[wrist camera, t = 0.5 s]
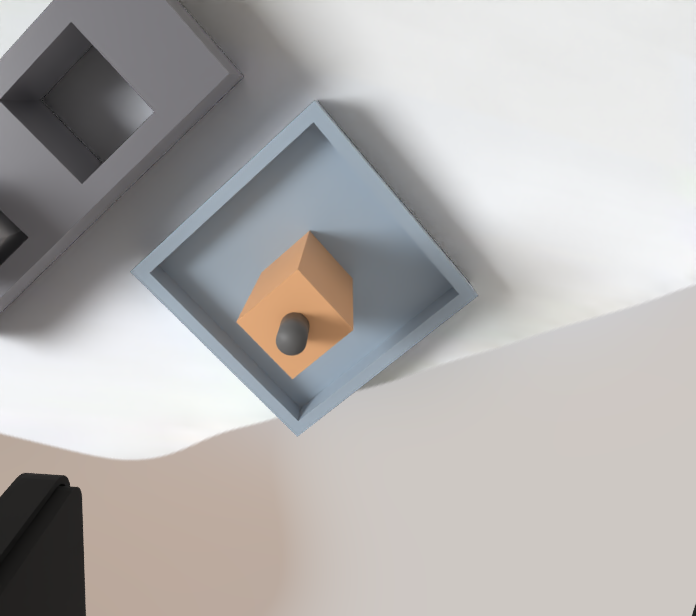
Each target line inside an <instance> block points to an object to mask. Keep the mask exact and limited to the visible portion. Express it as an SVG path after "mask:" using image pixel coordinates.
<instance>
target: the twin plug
mask: <svg viewBox="0 0 696 616" xmlns="http://www.w3.org/2000/svg"><path fill="white" fill-rule="evenodd" d="M28 238H29V237H28V236H27V235H26V234H25V233H23V232H22V231H21V230H20V229H19V228H18V227H17V226H16V225H15V224H14V223H13V222H12V221H11V220H10V219H9V218H8V217H7V216H6V215H5V214H4V213H3V212H1V211H0V264H2V263H4V262H5V261H6V260H7V259H8V258H9V257H10V256H11V255H12V254H13V253H14V252H15V251H16V250H17V249H18V248H19V247H20V246H21V245H22V244H23V243H24V242H25V241H26V240H27V239H28Z"/></svg>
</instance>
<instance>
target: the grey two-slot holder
mask: <svg viewBox="0 0 696 616" xmlns="http://www.w3.org/2000/svg"><path fill="white" fill-rule="evenodd" d="M92 45H93V46H94V47H95V48H96V49H97V50H98V51H99V52H100V53H101V54H102V56H103V57H104V58H105V59H106V60H107V61H108V62H109V63H110V64H111V65H112V66H113V67H114V69H115V70H116V71H117V72H118V73H119V74H120V75H121V76H122V77H123V78H124V79H125V80H126V82H127V83H128V84H129V85H130V86H131V87H132V88H133V89H134V90H135V91H136V92H137V93H138V95H139V96H140V97H141V98H142V99H143V100H144V101H145V102H146V103H147V104H148V105H149V107H150V108H151V109H152V110H153V111H154V113H153V114H152V115H151V116H150V117H149V118H148V119H147V120H146V121H145V122H144V123H143V124H142V125H141V126H140V127H139V128H138V129H137V130H136V131H135V132H134V133H133V134H132V135H131V136H130V137H129V138H128V139H127V140H126V141H125V142H124V143H123V144H122V145H121V146H120V147H119V148H118V149H117V150H116V151H115V152H114V153H113V154H112V155H111V156H110V157H109V158H108V159H107V160H106V161H105V162H104V163H103V164H102V163H101V162H100V161H99V160H98V159H97V158H96V157H95V156H94V155H93V154H92V153H91V152H90V151H89V149H88V148H87V147H86V146H85V145H84V144H83V143H82V142H81V141H80V140H79V139H78V138H77V137H76V136H75V135H74V134H73V133H72V132H71V131H70V130H69V129H68V128H67V127H66V126H65V125H64V124H63V123H62V122H61V121H60V120H59V119H58V118H57V117H56V116H55V115H54V114H53V112H52V111H51V110H50V109H49V108H48V107H47V106H46V105H45V104H44V103H43V102H42V101H41V99H42V98H43V97H44V96H45V95H46V94H47V93H48V92H49V91H50V90H51V89H52V88H53V87H54V86H55V84H56V83H57V82H58V81H59V80H60V79H61V78H62V77H63V76H64V75H65V74H66V73H67V72H68V71H69V70H70V69H71V67H72V66H73V65H74V64H75V63H76V62H77V61H78V60H79V59H80V58H81V57H82V56H83V55H84V54H85V53H86V51H87V50H88V49H89V48H90V47H91V46H92ZM243 77H244V76H243V75H242V74H241V73H240V72H239V70H238V69H237V68H236V67H235V66H234V65H233V63H232V62H231V61H230V60H229V59H228V58H227V56H226V55H225V54H224V53H223V52H222V51H221V50H220V48H219V47H218V46H217V45H216V44H215V43H214V41H213V40H212V39H211V38H210V37H209V36H208V34H207V33H206V32H205V31H204V30H203V29H202V27H201V26H200V25H199V24H198V23H197V22H196V21H195V19H194V18H193V17H192V16H191V15H190V14H189V12H188V11H187V10H186V9H185V8H184V7H183V5H182V4H181V3H180V2H179V1H178V0H53V1H52V2H51V3H50V4H49V6H48V7H47V8H46V9H45V10H44V11H43V12H42V13H41V14H40V16H39V17H38V18H37V19H36V20H35V21H34V22H33V23H32V24H31V25H30V27H29V28H28V29H27V30H26V31H25V32H24V33H23V34H22V35H21V37H20V38H19V39H18V40H17V41H16V42H15V43H14V44H13V45H12V47H11V48H10V49H9V50H8V51H7V52H6V53H5V54H4V55H3V57H2V58H1V59H0V211H1V212H3V213H4V214H5V215H6V216H7V217H8V218H9V219H10V220H11V221H12V222H13V223H14V224H15V225H16V226H17V227H18V228H19V229H20V230H21V231H22V232H23V233H25V234H26V235H27V236H28V237H29V238H28V239H27V240H26V241H25V242H24V243H23V244H22V245H21V246H20V247H19V248H18V249H17V250H16V251H15V252H14V253H13V254H12V255H11V256H10V257H9V258H8V259H7V260H6V261H5V262H4V263H3V264H2V265H1V266H0V313H1V312H2V311H3V310H4V309H5V308H6V307H7V306H8V305H9V304H10V303H12V302H13V301H14V300H15V299H16V298H17V297H18V296H19V295H20V294H21V293H22V292H23V291H24V290H25V289H26V288H27V287H28V286H29V285H30V284H31V283H32V282H33V281H34V280H35V279H36V278H37V277H38V276H39V275H40V274H41V273H42V272H43V271H44V270H45V269H46V268H48V267H49V266H50V265H51V264H52V263H53V262H54V261H55V260H56V259H57V258H58V257H59V256H60V255H61V254H62V253H63V252H64V251H65V250H66V249H67V248H68V247H69V246H70V245H71V244H72V243H73V242H74V241H75V240H76V239H77V238H78V237H79V236H80V235H81V234H82V233H84V232H85V231H86V230H87V229H88V228H89V227H90V226H91V225H92V224H93V223H94V222H95V221H96V220H97V219H98V218H99V217H100V216H101V215H102V214H103V213H104V212H105V211H106V210H107V209H108V208H109V207H110V206H111V205H112V204H113V203H114V202H115V201H116V200H117V199H118V198H120V197H121V196H122V195H123V194H124V193H125V192H126V191H127V190H128V189H129V188H130V187H131V186H132V185H133V184H134V183H135V182H136V181H137V180H138V179H139V178H140V177H141V176H142V175H143V174H144V173H145V172H146V171H147V170H148V169H149V168H150V167H151V166H152V165H153V164H155V163H156V162H157V161H158V160H159V159H160V158H161V157H162V156H163V155H164V154H165V153H166V152H167V151H168V150H169V149H170V148H171V147H172V146H173V145H174V144H175V143H176V142H177V141H178V140H179V139H180V138H181V137H182V136H183V135H184V134H185V133H186V132H187V131H188V130H189V129H191V128H192V127H193V126H194V125H195V124H196V123H197V122H198V121H199V120H200V119H201V118H202V117H203V116H204V115H205V114H206V113H207V112H208V111H209V110H210V109H211V108H212V107H213V106H214V105H215V104H216V103H217V102H218V101H219V100H220V99H221V98H222V97H223V96H224V95H225V94H227V93H228V92H229V91H230V90H231V89H232V88H233V87H234V86H235V85H236V84H237V83H238V82H239V81H240V80H241V79H242V78H243Z"/></svg>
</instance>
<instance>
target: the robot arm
mask: <svg viewBox="0 0 696 616" xmlns="http://www.w3.org/2000/svg"><path fill="white" fill-rule="evenodd" d="M82 516H83V515H82V494H81V490H80V488H78V487H70V483H69V480H68V478H67V477H66V476H64V475H48V474H34V473H24V474H21V475H20V476H18V477H17V478H16V479H15V481H14V482H13V483H12V484H11V485H10V486H9V487H8V489H7V490H6V491H5V492H4V493H3V495H2V496H1V497H0V616H86V609H85V578H84V546H83V517H82ZM692 616H696V605H695V608H694V611H693V614H692Z"/></svg>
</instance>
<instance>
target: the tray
mask: <svg viewBox="0 0 696 616" xmlns="http://www.w3.org/2000/svg"><path fill="white" fill-rule="evenodd" d="M308 231H310V232H311V233H312V234H313V235H314V236H315V237H316V238H317V239H318V241H319V242H320V243H321V244H322V245H323V246H324V247H325V248H326V250H327V251H328V252H329V253H330V254H331V255H332V256H333V257H334V258H335V260H336V261H337V262H338V263H339V264H340V265H341V266H342V267H343V268H344V270H345V271H346V272H347V273H348V274H349V275H350V276H351V277H352V278H353V331H351V332H350V333H349V334H348V335H347V336H345V337H344V338H343V339H342V340H340V341H339V342H338V343H337V344H335V345H334V346H333V347H332V348H330V349H329V350H328V351H327V352H326V353H324V354H323V355H322V356H321V357H319V358H318V359H317V360H316V361H314V362H313V363H312V364H311V365H309V366H308V367H307V368H306V369H305V370H303V371H302V372H301V373H300V374H298V375H297V376H296V377H295V378H293V379H292V378H291V377H290V376H289V375H288V374H287V373H286V372H285V371H284V370H283V369H282V368H281V367H280V366H279V365H278V364H277V363H276V362H275V361H274V360H273V359H272V358H271V357H270V356H269V355H268V354H267V353H266V352H265V351H264V350H263V349H262V348H261V347H260V346H259V345H258V344H257V343H256V342H255V341H254V340H253V339H252V338H251V336H250V335H249V334H248V333H247V332H246V331H245V330H244V329H243V328H242V327H241V326H240V325H239V324H238V323H237V320H238V318H239V316H240V314H241V312H242V310H243V308H244V306H245V304H246V302H247V300H248V298H249V296H250V294H251V292H252V290H253V288H254V286H255V284H256V282H257V280H258V278H259V276H260V274H261V272H263V271H264V270H265V269H266V268H267V267H268V266H269V265H271V264H272V263H273V262H274V261H275V260H276V259H277V258H279V257H280V256H281V255H282V254H283V253H284V252H285V251H287V250H288V249H289V248H290V247H291V246H292V245H294V244H295V243H296V242H297V241H298V240H299V239H300V238H302V237H303V236H304V235H305V234H306V233H307V232H308ZM130 272H131V273H132V274H133V275H134V276H135V277H136V278H137V279H138V280H139V281H140V282H141V283H142V284H143V285H144V286H145V287H146V288H147V289H148V290H149V291H150V292H151V293H152V294H153V295H154V296H155V297H156V298H157V299H158V300H159V301H160V302H161V303H162V304H163V305H165V306H166V307H167V308H168V309H169V310H170V311H171V312H172V313H173V314H174V315H175V316H176V317H177V318H178V319H179V320H180V321H181V322H182V323H183V324H184V325H185V326H186V327H187V328H188V329H189V330H190V331H191V332H192V333H193V334H194V335H195V336H196V337H197V338H198V339H199V340H200V341H201V342H202V343H203V344H204V345H205V346H206V347H207V348H208V349H209V350H210V351H211V352H212V353H213V354H214V355H215V356H216V357H217V358H218V359H219V360H220V361H221V362H222V363H223V364H224V365H225V366H226V367H227V368H228V369H229V370H230V371H231V372H232V373H233V374H234V375H235V376H236V377H237V378H239V379H240V380H241V381H242V382H243V383H244V384H245V385H246V386H247V387H248V388H249V389H250V390H251V391H252V392H253V393H254V394H255V395H256V396H257V397H258V398H259V399H260V400H261V401H262V402H263V403H264V404H265V405H266V406H267V407H268V408H269V409H270V410H271V411H272V412H273V413H274V414H275V415H276V416H277V417H278V418H279V419H280V420H281V421H282V422H283V423H284V424H285V425H286V426H287V427H288V428H289V429H290V430H291V431H292V432H293V433H294V434H295V435H296V436H299V435H300V434H301V433H303V432H304V431H305V430H307V429H308V428H309V427H310V426H312V425H313V424H314V423H316V422H317V421H318V420H319V419H321V418H322V417H323V416H324V415H326V414H327V413H328V412H330V411H331V410H332V409H333V408H335V407H336V406H337V405H339V404H340V403H341V402H342V401H344V400H345V399H346V398H348V397H349V396H350V395H351V394H353V393H354V392H355V391H357V390H358V389H359V388H360V387H362V386H363V385H364V384H366V383H367V382H368V381H369V380H371V379H372V378H373V377H374V376H376V375H377V374H378V373H380V372H381V371H382V370H383V369H385V368H386V367H387V366H389V365H390V364H391V363H392V362H394V361H395V360H396V359H398V358H399V357H400V356H401V355H403V354H404V353H405V352H407V351H408V350H409V349H410V348H412V347H413V346H414V345H415V344H417V343H418V342H419V341H421V340H422V339H423V338H424V337H426V336H427V335H428V334H430V333H431V332H432V331H433V330H435V329H436V328H437V327H439V326H440V325H441V324H442V323H444V322H445V321H446V320H448V319H449V318H450V317H451V316H453V315H454V314H455V313H456V312H458V311H459V310H460V309H462V308H463V307H464V306H465V305H467V304H468V303H469V302H471V301H472V300H473V299H474V298H476V297H477V296H478V295H477V293H476V292H475V290H474V288H473V287H472V285H471V284H470V283H469V281H468V280H467V279H466V278H465V277H464V275H463V274H462V273H461V272H460V271H459V269H458V268H457V267H456V266H455V265H454V263H453V262H452V261H451V260H450V259H449V257H448V256H447V255H446V254H445V253H444V252H443V250H442V249H441V248H440V247H439V246H438V244H437V243H436V242H435V241H434V240H433V238H432V237H431V236H430V235H429V234H428V232H427V231H426V230H425V229H424V228H423V226H422V225H421V224H420V223H419V222H418V220H417V219H416V218H415V217H414V216H413V214H412V213H411V212H410V211H409V210H408V209H407V207H406V206H405V205H404V204H403V203H402V201H401V200H400V199H399V198H398V197H397V195H396V194H395V193H394V192H393V191H392V189H391V188H390V187H389V186H388V185H387V183H386V182H385V181H384V180H383V179H382V177H381V176H380V175H379V174H378V173H377V171H376V170H375V169H374V168H373V167H372V166H371V164H370V163H369V162H368V161H367V160H366V158H365V157H364V156H363V155H362V154H361V152H360V151H359V150H358V149H357V148H356V146H355V145H354V144H353V143H352V142H351V140H350V139H349V138H348V137H347V136H346V134H345V133H344V132H343V131H342V130H341V128H340V127H339V126H338V125H337V124H336V123H335V121H334V120H333V119H332V118H331V117H330V115H329V114H328V113H327V112H326V111H325V109H324V108H323V107H322V106H321V105H320V103H319V102H318V101H317V100H314V101H313V102H312V103H311V104H310V105H309V106H308V107H307V108H306V109H305V110H304V111H303V112H301V113H300V114H299V115H298V116H297V117H296V118H295V119H294V120H293V121H292V122H291V123H290V124H289V125H287V126H286V127H285V128H284V129H283V130H282V131H281V132H280V133H279V134H278V135H277V136H276V137H275V138H273V139H272V140H271V141H270V142H269V143H268V144H267V145H266V146H265V147H264V148H263V149H262V150H261V151H260V152H258V153H257V154H256V155H255V156H254V157H253V158H252V159H251V160H250V161H249V162H248V163H247V164H246V165H244V166H243V167H242V168H241V169H240V170H239V171H238V172H237V173H236V174H235V175H234V176H233V177H232V178H230V179H229V180H228V181H227V182H226V183H225V184H224V185H223V186H222V187H221V188H220V189H219V190H218V191H216V192H215V193H214V194H213V195H212V196H211V197H210V198H209V199H208V200H207V201H206V202H205V203H204V204H202V205H201V206H200V207H199V208H198V209H197V210H196V211H195V212H194V213H193V214H192V215H191V216H190V217H188V218H187V219H186V220H185V221H184V222H183V223H182V224H181V225H180V226H179V227H178V228H177V229H176V230H175V231H173V232H172V233H171V234H170V235H169V236H168V237H167V238H166V239H165V240H164V241H163V242H162V243H161V244H159V245H158V246H157V247H156V248H155V249H154V250H153V251H152V252H151V253H150V254H149V255H148V256H147V257H145V258H144V259H143V260H142V261H141V262H140V263H139V264H138V265H137V266H136V267H135V268H134V269H133V270H131V271H130Z"/></svg>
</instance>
